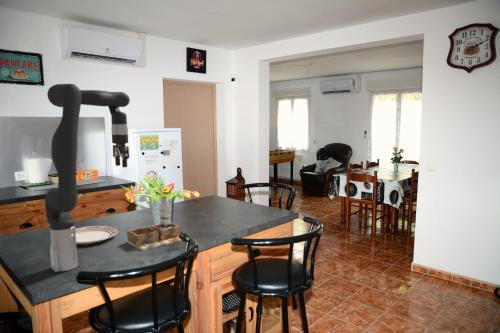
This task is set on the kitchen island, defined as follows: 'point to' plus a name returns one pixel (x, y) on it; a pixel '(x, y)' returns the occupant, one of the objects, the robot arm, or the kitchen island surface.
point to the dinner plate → (94, 234)
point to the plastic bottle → (165, 214)
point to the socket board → (153, 236)
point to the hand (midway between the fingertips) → (121, 166)
